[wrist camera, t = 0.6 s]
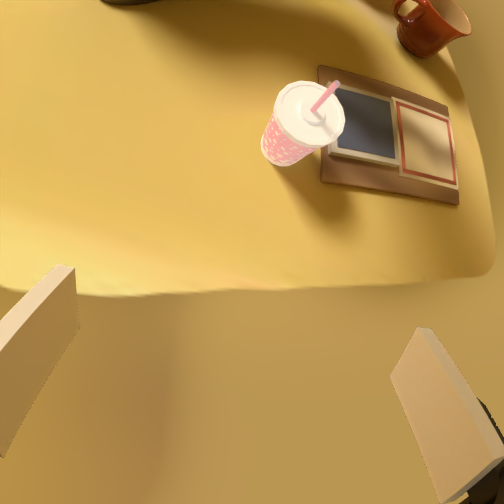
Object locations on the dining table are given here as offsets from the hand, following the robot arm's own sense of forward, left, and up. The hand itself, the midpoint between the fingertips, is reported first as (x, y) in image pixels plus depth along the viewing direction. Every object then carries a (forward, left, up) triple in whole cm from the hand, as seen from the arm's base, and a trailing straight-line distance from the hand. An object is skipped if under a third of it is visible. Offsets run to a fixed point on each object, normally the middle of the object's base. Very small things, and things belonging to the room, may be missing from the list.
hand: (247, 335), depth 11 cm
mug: (-38, +27, -21) cm, 51 cm away
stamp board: (-19, +22, -21) cm, 35 cm away
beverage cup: (-15, +7, -21) cm, 27 cm away
